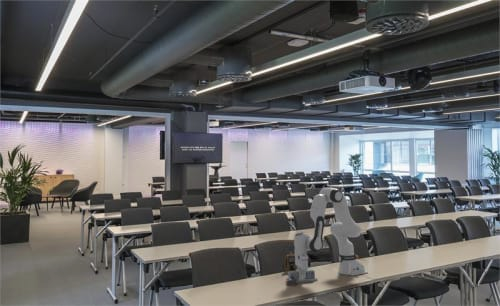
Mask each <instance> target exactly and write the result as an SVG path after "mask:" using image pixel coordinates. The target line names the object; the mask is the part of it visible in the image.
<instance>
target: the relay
mask: <svg viewBox="0 0 500 306" xmlns="http://www.w3.org/2000/svg"><path fill="white" fill-rule="evenodd" d="M287 286H298V283H297V280H296V279H288V282H287Z"/></svg>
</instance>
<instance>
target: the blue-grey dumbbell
mask: <svg viewBox="0 0 500 306" xmlns="http://www.w3.org/2000/svg"><path fill="white" fill-rule="evenodd" d="M287 274H288V278H286V279H285V281H286V282H287V283H288V279H296V280H297V282H298V283H308V282H317V281H318V279H319V278H317V277H315V276H316V274H315V270H314V269H313V268H310V269H309V268H308V270H306V278H299V277H298V272H297V270H296V271H287Z"/></svg>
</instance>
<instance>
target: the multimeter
mask: <svg viewBox="0 0 500 306" xmlns="http://www.w3.org/2000/svg"><path fill="white" fill-rule="evenodd" d="M286 248H287V246H285V247H284V249H283V252H282V253H284V252H285V249H286ZM292 248H295V246H294V245H292V246H291V247H290V252H289V254H286V256H285V264H283V268H285V267H286V271H287V272H285V274H288V271H297V265H295V253H294V254H293V250H292ZM285 265H286V266H285Z"/></svg>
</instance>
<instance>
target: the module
mask: <svg viewBox="0 0 500 306" xmlns="http://www.w3.org/2000/svg"><path fill="white" fill-rule="evenodd" d="M296 271H297V272H298V277H299V278H306V270H305V271H304V275H302V274H301V272H302V270H301V268H299V267H298V266H296Z"/></svg>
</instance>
